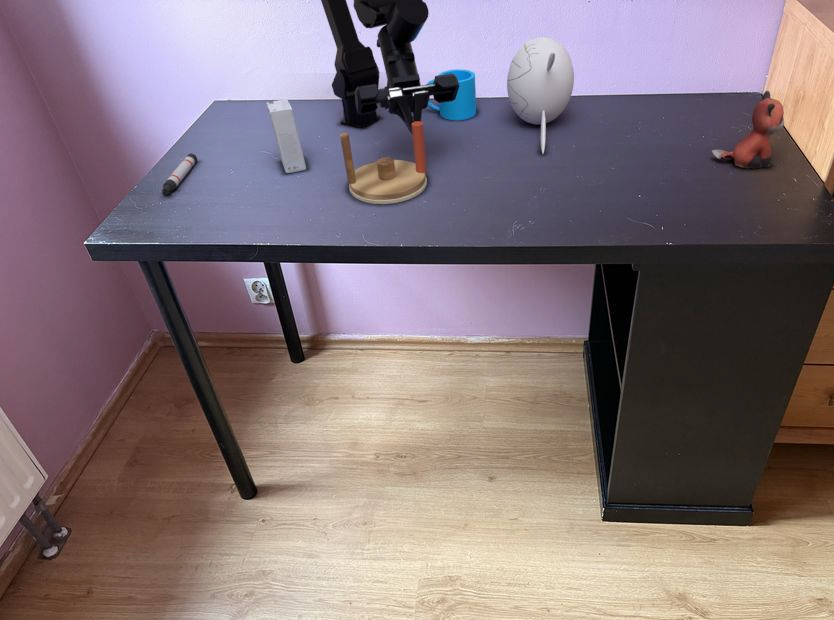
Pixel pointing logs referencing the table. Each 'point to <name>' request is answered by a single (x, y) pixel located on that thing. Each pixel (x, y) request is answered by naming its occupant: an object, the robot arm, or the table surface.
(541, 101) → the cracked white egg
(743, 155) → the stuffed fox
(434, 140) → the table surface
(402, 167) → the wooden peg board
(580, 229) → the table surface
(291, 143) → the cosmetic box
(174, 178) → the marker
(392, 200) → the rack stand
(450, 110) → the mug
